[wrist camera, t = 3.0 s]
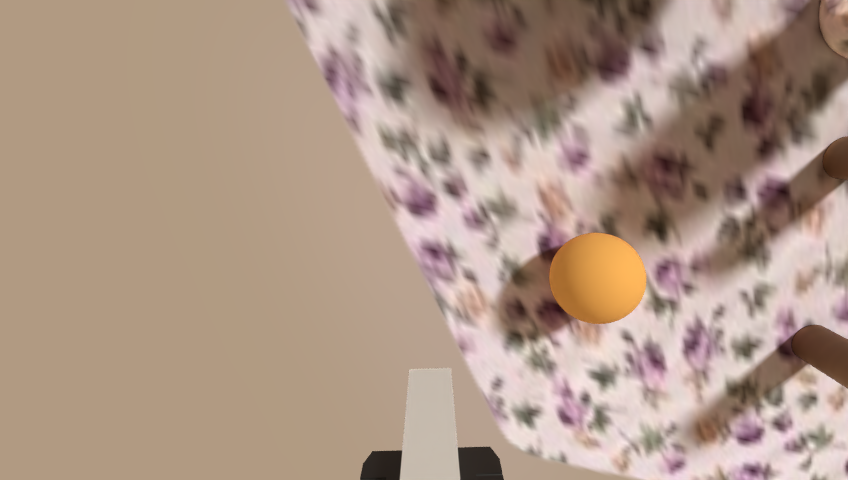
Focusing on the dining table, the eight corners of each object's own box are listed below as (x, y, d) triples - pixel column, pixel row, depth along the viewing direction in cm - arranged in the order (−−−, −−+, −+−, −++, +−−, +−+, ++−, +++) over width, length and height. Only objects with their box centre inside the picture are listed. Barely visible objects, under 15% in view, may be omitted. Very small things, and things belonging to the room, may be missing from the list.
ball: (540, 225, 30) (564, 248, 24) (625, 222, 30) (668, 244, 24) (539, 304, 31) (561, 341, 26) (620, 301, 31) (659, 338, 26)
